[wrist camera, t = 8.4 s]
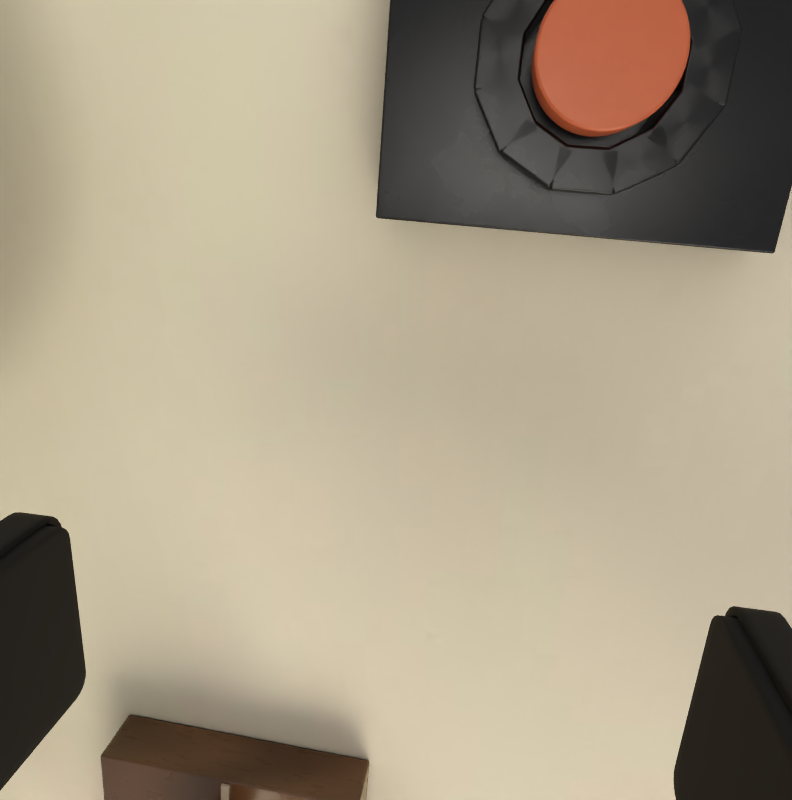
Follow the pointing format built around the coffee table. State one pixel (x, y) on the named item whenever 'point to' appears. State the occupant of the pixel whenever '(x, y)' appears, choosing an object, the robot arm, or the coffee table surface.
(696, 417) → the coffee table surface
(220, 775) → the panel
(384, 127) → the button box
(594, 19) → the button
